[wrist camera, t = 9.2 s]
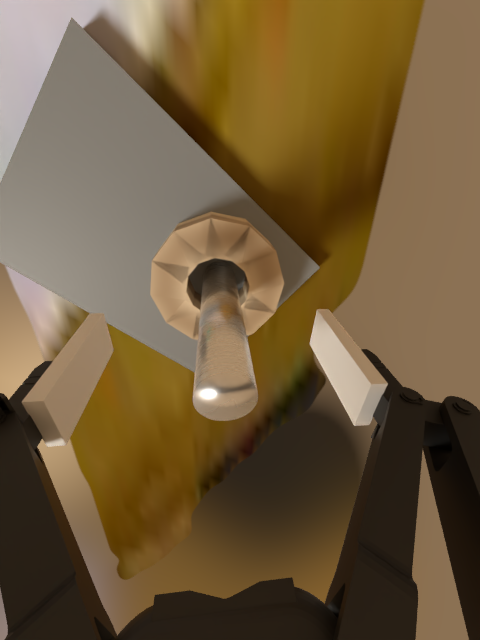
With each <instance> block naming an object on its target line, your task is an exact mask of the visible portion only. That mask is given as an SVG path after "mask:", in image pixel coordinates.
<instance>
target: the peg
mask: <svg viewBox="0 0 480 640" xmlns="http://www.w3.org/2000/svg"><path fill="white" fill-rule="evenodd" d="M257 401H258V392H257V386H256V381H255V376H254V371H253V366H252V360H251V355H250V350H249V345H248V340H247V335H246V329H245V324H244V319H243V314H242V309H241V304H240V298H239V293H238V288H237V283H236V278H235V273H234V270H233V268H232V267H231V266H230V265H229V264H227V263H225V262H220V261H217V262H213V263H211V264H209V265H208V266H207V267H206V269H205V271H204V274H203V285H202V297H201V309H200V320H199V332H198V344H197V355H196V367H195V379H194V391H193V404H194V407H195V408H196V410H197V411H198V412H199V413H200V414H201V415H203V416H205V417H207V418H209V419H212V420H218V421H228V420H234V419H238V418H240V417H243V416H244V415H246V414H248V413H249V412H250V411H251V410H252V409H253V408H254V407H255V405H256V403H257Z"/></svg>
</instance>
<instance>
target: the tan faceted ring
mask: <svg viewBox="0 0 480 640" xmlns="http://www.w3.org/2000/svg"><path fill="white" fill-rule="evenodd" d="M213 258H218V259H223V260H229V261H233V262H234V263H235V264H236V265H237V266H239V267H240V268H241V269H242V270H243V271H245V274H246V275H245V279H244V284H243V287H242V288H241V289H240V290H239V291H238V293H239V298H240V304H241V309H242V314H243V319H244V324H245V329H246V335H251V334H253V333H254V332H255V331H256V330H257V329H258V328H259V327H261V326H262V325H263V324H264V323H265V322H266V321H267V320H268V319H269V318H270V317H271V316H272V315H273V314H274V313H275V311H276V308H277V305H278V302H279V298H280V295H281V292H282V289H283V286H284V280H283V276H282V272H281V268H280V264H279V260H278V256H277V252H276V250H275V249H274V247H273V246H272V244H271V243H270V242H269V241H268V240H267V239H266V238H265V237H264V236H263V235H262V234H261V233H260V232H259V231H258V230H257V229H256V228H255V227H254V226H252V225H251V224H250V223H249V222H248V221H247V220H246V219H244V218H239V217H235V216H230V215H225V214H220V213H216V212H208V213H206V214H203V215H200V216H198V217H195V218H192V219H189V220H187V221H184V222H181V223H178V225H177V226H176V227H175V229H174V230H173V231H172V233H171V234H170V235H169V237H168V238H167V239H166V241H165V242H164V243H163V245H162V246H161V247H160V249H159V250H158V251H157V253H156V255H155V256H154V258H153V260H152V268H151V290H150V295H151V297H152V298H153V300H154V302H155V304H156V305H157V307H158V309H159V311H160V312H161V314H162V316H163V318H164V320H165V321H166V323H168V324H169V325H171V326H173V327H174V328H176V329H177V330H179V331H180V332H182V333H184V334H185V335H187V336H188V337H190V338H192V339H195V340H198V332H199V320H200V309H201V297H202V296H201V295H200V294H199V293H197V292H196V291H195V290H194V288H193V286H192V283H191V281H190V279H189V275H190V273H191V272H192V271H193V270H194V269H195V267H196V266H197V265H198V264H199V263H202V262H205V261H208V260H211V259H213Z"/></svg>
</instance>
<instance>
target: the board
mask: <svg viewBox="0 0 480 640" xmlns="http://www.w3.org/2000/svg"><path fill="white" fill-rule="evenodd" d="M208 212H216V213H220V214H225V215H230V216H235V217H239V218H244V219H246V220H247V221H248V222H249V223H250V224H251V225H252V226H254V227H255V228H256V229H257V230H258V231H259V232H260V233H261V234H262V235H263V236H264V237H265V238H266V239H267V240H268V241H269V242H270V243H271V244H272V246H273V247H274V249H275V250H276V252H277V256H278V260H279V264H280V268H281V272H282V276H283V280H284V286H283V289H282V292H281V295H280V298H279V302H278V305H277V308H278V307H279V306H280V305H281V304H282V303H283V302H284V301H285V300H286V299H287V298H289V297H290V296H291V295H292V294H293V293H294V292H295V291H296V290H297V289H298V288H299V287H300V286H301V285H302V284H303V283H304V282H305V281H306V280H307V279H308V278H310V277H311V276H312V275H313V274H314V273H315V272H316V271H317V270H318V269H319V268H320V267H319V266H318V265H317V264H316V263H315V262H314V261H313V260H312V259H311V258H310V257H309V256H308V255H307V254H306V253H305V252H304V251H303V250H302V249H301V248H300V247H299V246H298V245H297V244H296V243H295V242H294V241H293V240H292V239H291V238H290V237H289V236H288V235H287V234H286V233H285V232H284V231H283V230H282V229H281V228H280V227H279V226H278V225H277V224H276V223H275V222H274V221H273V220H272V219H271V218H270V217H269V216H268V215H267V214H266V213H265V212H264V211H263V210H262V209H261V208H260V206H259V205H258V204H257V203H256V202H255V201H254V200H253V199H252V198H251V197H250V196H249V195H248V194H247V193H246V192H245V191H244V190H243V189H242V188H241V187H240V186H239V185H238V184H237V183H236V182H235V181H234V180H233V179H232V178H231V177H230V176H229V175H228V174H227V173H226V172H225V171H224V170H223V169H222V168H221V167H220V166H219V165H218V164H217V163H216V162H215V161H214V160H213V159H212V158H211V157H210V156H209V155H208V154H207V153H206V152H205V151H204V150H203V149H202V148H201V147H200V146H199V145H198V144H197V143H196V142H195V141H194V140H193V139H192V138H191V137H190V136H189V135H188V134H187V133H186V132H185V131H184V130H183V129H182V128H181V127H180V126H179V125H178V124H177V123H176V122H175V121H174V120H173V119H172V118H171V117H170V116H169V115H168V114H167V113H166V112H165V111H164V110H163V109H162V108H161V107H160V106H159V105H158V104H157V103H156V102H155V101H154V100H153V99H152V98H151V97H150V96H149V95H148V94H147V93H146V92H145V91H144V90H143V89H142V88H141V87H140V86H139V85H138V84H137V83H136V82H135V81H134V80H133V79H132V78H131V77H130V76H129V75H128V74H127V73H126V72H125V71H124V70H123V69H122V68H121V67H120V66H119V65H118V64H117V63H116V62H115V61H114V60H113V59H112V58H111V57H110V55H109V54H108V53H107V52H106V51H105V50H104V49H103V48H102V47H101V46H100V45H99V44H98V43H97V42H96V41H95V40H94V39H93V38H92V37H91V36H90V35H89V34H88V33H87V32H86V31H85V30H84V29H83V28H82V27H81V26H80V25H79V24H78V23H77V22H76V21H75V20H74V19H73V18H71V20H70V22H69V25H68V27H67V29H66V32H65V34H64V36H63V39H62V41H61V43H60V46H59V48H58V50H57V53H56V55H55V57H54V60H53V62H52V64H51V67H50V69H49V71H48V74H47V76H46V78H45V81H44V83H43V85H42V88H41V90H40V92H39V95H38V97H37V99H36V102H35V104H34V106H33V109H32V111H31V113H30V116H29V118H28V120H27V123H26V125H25V127H24V130H23V132H22V134H21V137H20V139H19V141H18V143H17V146H16V148H15V150H14V153H13V155H12V157H11V160H10V162H9V164H8V167H7V169H6V171H5V174H4V176H3V178H2V181H1V183H0V262H1V263H2V264H4V265H6V266H8V267H9V268H11V269H13V270H15V271H16V272H18V273H20V274H22V275H24V276H25V277H27V278H29V279H31V280H32V281H34V282H36V283H38V284H39V285H41V286H43V287H45V288H46V289H48V290H50V291H52V292H54V293H55V294H57V295H59V296H61V297H62V298H64V299H66V300H68V301H69V302H71V303H73V304H75V305H76V306H78V307H80V308H82V309H84V310H85V311H87V312H89V313H104V316H105V320H106V322H107V323H108V324H110V325H112V326H114V327H115V328H117V329H119V330H121V331H122V332H124V333H126V334H128V335H129V336H131V337H133V338H135V339H137V340H138V341H140V342H142V343H144V344H145V345H147V346H149V347H151V348H152V349H154V350H156V351H158V352H159V353H161V354H163V355H165V356H167V357H168V358H170V359H172V360H174V361H175V362H177V363H179V364H181V365H182V366H184V367H186V368H188V369H190V370H191V371H193V372H195V367H196V355H197V344H198V340H195V339H192V338H190V337H188V336H187V335H185V334H184V333H182V332H180V331H179V330H177V329H176V328H174V327H173V326H171V325H169V324H168V323H166V321H165V320H164V318H163V316H162V314H161V312H160V311H159V309H158V307H157V305H156V304H155V302H154V300H153V298H152V297H151V295H150V290H151V268H152V260H153V258H154V256H155V255H156V253H157V251H158V250H159V249H160V247H161V246H162V245H163V243H164V242H165V241H166V239H167V238H168V237H169V235H170V234H171V233H172V231H173V230H174V229H175V227H176V226H177V225H178V223H181V222H184V221H187V220H189V219H192V218H195V217H198V216H200V215H203V214H206V213H208ZM217 261H220V262H225V263H227V264H229V265H230V266H231V267H232V268H233V270H234V273H235V278H236V283H237V288H238V291H239V290H240V289H241V288H242V287H243V284H244V279H245V275H246V274H245V271H243V270H242V269H241V268H240V267H239V266H237V265H236V264H235V263H234V262H233V261H229V260H223V259H218V258H213V259H211V260H208V261H205V262H202V263H199V264H198V265H197V266H196V267H195V269H194V270H193V271H192V272H191V273H190V275H189V279H190V281H191V283H192V286H193V288H194V290H195V291H196V292H197V293H199V294H200V295H201V296H202V285H203V274H204V271H205V269H206V267H207V266H208V265H209V264H211V263H213V262H217ZM277 308H276V309H277ZM248 336H249V335H247V337H248Z"/></svg>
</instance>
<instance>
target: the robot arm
mask: <svg viewBox="0 0 480 640" xmlns="http://www.w3.org/2000/svg"><path fill="white" fill-rule="evenodd" d="M310 345H311V347H312V349H313V351H314V353H315V355H316V356H317V358H318V360H319V362H320V364H321V366H322V367H323V369H324V371H325V373H326V375H327V376H328V378H329V380H330V382H331V384H332V386H333V387H334V389H335V391H336V393H337V395H338V397H339V398H340V400H341V402H342V404H343V406H344V408H345V409H346V411H347V413H348V415H349V417H350V419H351V420H352V422H353V424H354V425H355V426H357V425H369V424H370V422H371V420H372V418H373V417H374V418H375V420H376V421H377V423H378V424H377V426H376V428H375V430H374V432H373V434H372V436H371V438H372V442H371V446H370V450H369V453H368V457H367V460H366V464H365V468H364V471H363V475H362V478H361V482H360V486H359V489H358V493H357V497H356V500H355V504H354V508H353V511H352V515H351V519H350V522H349V526H348V529H347V533H346V537H345V540H344V544H343V547H342V551H341V555H340V558H339V562H338V565H337V569H336V572H335V575H334V578H333V581H332V583H331V586H330V588H329V592H328V595H327V598H326V601H325V604H324V603H323V602H322V601H320V600H319V599H318V598H317V597H315V596H314V595H312V594H310V593H309V592H307V591H304V590H302V589H300V588H297V587H294V584H293V579H292V578H285V579H276V580H269V581H261V582H258V583H256V584H255V585H253V586H251V587H249V588H247V589H245V590H243V591H241V592H239V593H237V594H235V595H233V596H232V597H230V598H227V599H222V598H218V597H214V596H210V595H206V594H202V593H197V592H193V591H183V592H175V593H168V594H159V595H155V597H154V605H153V606H151V607H149V608H147V609H146V610H144V611H143V612H141V613H140V614H139V615H137V616H136V617H135V618H134V619H133V620H131V621H130V622H129V623H128V624H127V625H126V626H125V628H124V629H123V630H122V631H121V632H120V633H119V634H118V636H117V634H116V632H115V630H114V627H113V625H112V623H111V621H110V619H109V616H108V615H107V613H106V611H105V609H104V607H103V605H102V603H101V600H100V598H99V596H98V593H97V591H96V588H95V586H94V584H93V581H92V578H91V576H90V574H89V571H88V569H87V566H86V564H85V561H84V559H83V556H82V554H81V552H80V549H79V547H78V544H77V542H76V539H75V537H74V534H73V532H72V530H71V527H70V525H69V522H68V520H67V518H66V515H65V512H64V510H63V507H62V505H61V502H60V500H59V498H58V495H57V493H56V490H55V488H54V485H53V483H52V480H51V478H50V476H49V473H48V471H47V468H46V466H45V463H44V461H43V458H42V456H41V453H40V451H39V449H38V448H37V446H38V444H39V443H40V441H41V439H43V440H44V441H45V444H46V445H47V446H61V445H66V444H67V442H68V440H69V438H70V436H71V434H72V432H73V430H74V428H75V426H76V424H77V422H78V421H79V419H80V417H81V415H82V413H83V411H84V409H85V407H86V405H87V403H88V401H89V399H90V397H91V395H92V393H93V391H94V389H95V387H96V385H97V383H98V381H99V379H100V377H101V375H102V373H103V371H104V369H105V367H106V365H107V363H108V361H109V359H110V357H111V355H112V353H113V351H114V349H113V346H112V342H111V338H110V335H109V331H108V327H107V324H106V320H105V316H104V313H90V314H89V316H88V317H87V318H86V319H85V321H84V322H83V323H82V325H81V326H80V327H79V328H78V330H77V331H76V332H75V334H74V335H73V336H72V337H71V339H70V340H69V341H68V343H67V344H66V345H65V347H64V348H63V349H62V350H61V352H60V353H59V354H58V356H57V357H56V358H55V359H54V361H45V362H44V363H42V364H41V365H39V366H38V367H37V368H35V369H34V370H33V371H32V373H31V374H30V375H29V376H28V378H27V379H26V380H25V381H24V382H23V385H21V386H20V387H19V388H18V389H17V391H16V392H15V393H14V394H13V395H12V397H11V398H10V399H9V400H8V399H7V397H6V396H5V395H4V394H1V393H0V588H1V593H2V598H3V603H4V608H5V614H6V619H7V625H8V635H7V637H6V639H5V640H415V637H416V622H417V608H418V590H417V585H416V583H415V582H414V581H413V579H412V565H413V553H414V541H415V530H416V518H417V506H418V495H419V484H420V471H421V461H422V449H423V451H424V455H425V459H426V463H427V467H428V471H429V476H430V480H431V484H432V488H433V492H434V496H435V500H436V505H437V508H438V512H439V517H440V521H441V525H442V529H443V533H444V538H445V541H446V546H447V550H448V554H449V558H450V562H451V566H452V570H453V575H454V579H455V583H456V587H457V591H458V596H459V600H460V604H461V608H462V612H463V616H464V620H465V624H466V629H467V632H468V637H469V640H480V411H479V410H478V409H477V407H476V406H474V405H473V404H472V403H470V402H469V401H467V400H465V399H462V398H459V397H455V396H449V397H446V398H445V399H444V401H443V402H442V403H439V402H433V401H428V400H425V399H424V398H423V397H422V396H421V395H420V394H419V393H418V392H416V391H414V390H412V389H410V388H406V387H402V385H401V384H400V383H399V382H398V381H397V380H396V378H395V377H394V376H393V375H392V374H391V373H390V371H389V370H388V369H387V368H386V367H385V365H384V364H383V363H381V361H380V360H379V358H378V357H377V356H376V355H375V354H373V353H372V352H370V351H369V350H367V349H360V348H359V347H358V345H357V344H356V343H355V342H354V340H353V339H352V338H351V337H350V336H349V334H348V333H347V332H346V330H345V329H344V328H343V327H342V326H341V324H340V323H339V322H338V320H336V318H335V317H334V315H333V314H332V313H331V312H330V310H329V309H317V312H316V317H315V321H314V326H313V331H312V335H311V340H310Z"/></svg>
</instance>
